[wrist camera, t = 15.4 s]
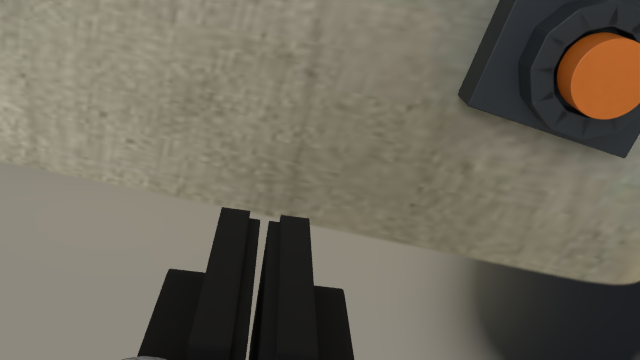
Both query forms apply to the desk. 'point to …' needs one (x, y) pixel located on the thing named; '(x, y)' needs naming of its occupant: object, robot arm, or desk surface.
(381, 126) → the desk surface
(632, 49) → the button
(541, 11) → the button box
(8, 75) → the desk surface
